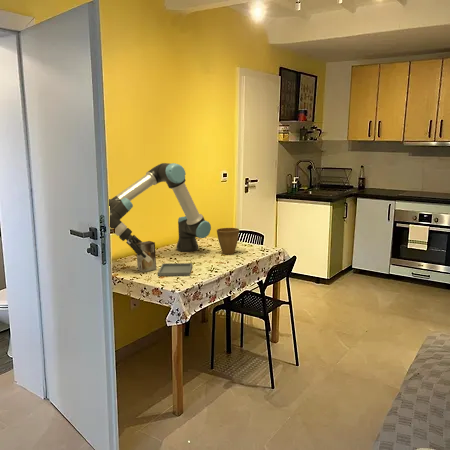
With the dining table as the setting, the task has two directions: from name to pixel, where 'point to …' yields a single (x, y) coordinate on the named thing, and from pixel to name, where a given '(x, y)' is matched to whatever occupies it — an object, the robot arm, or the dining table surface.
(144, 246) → the coffee box
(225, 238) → the plant pot
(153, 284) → the dining table surface
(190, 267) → the tray
